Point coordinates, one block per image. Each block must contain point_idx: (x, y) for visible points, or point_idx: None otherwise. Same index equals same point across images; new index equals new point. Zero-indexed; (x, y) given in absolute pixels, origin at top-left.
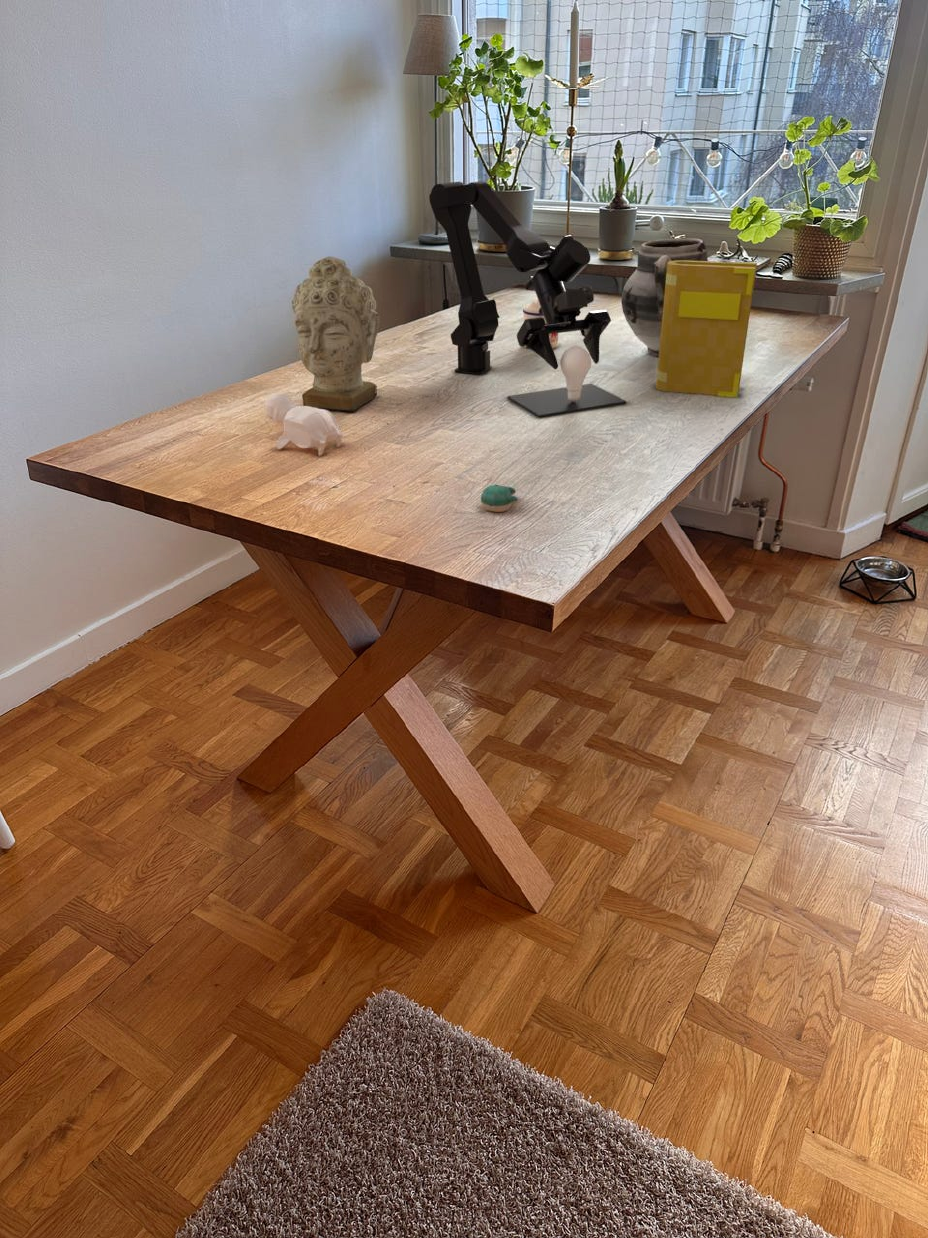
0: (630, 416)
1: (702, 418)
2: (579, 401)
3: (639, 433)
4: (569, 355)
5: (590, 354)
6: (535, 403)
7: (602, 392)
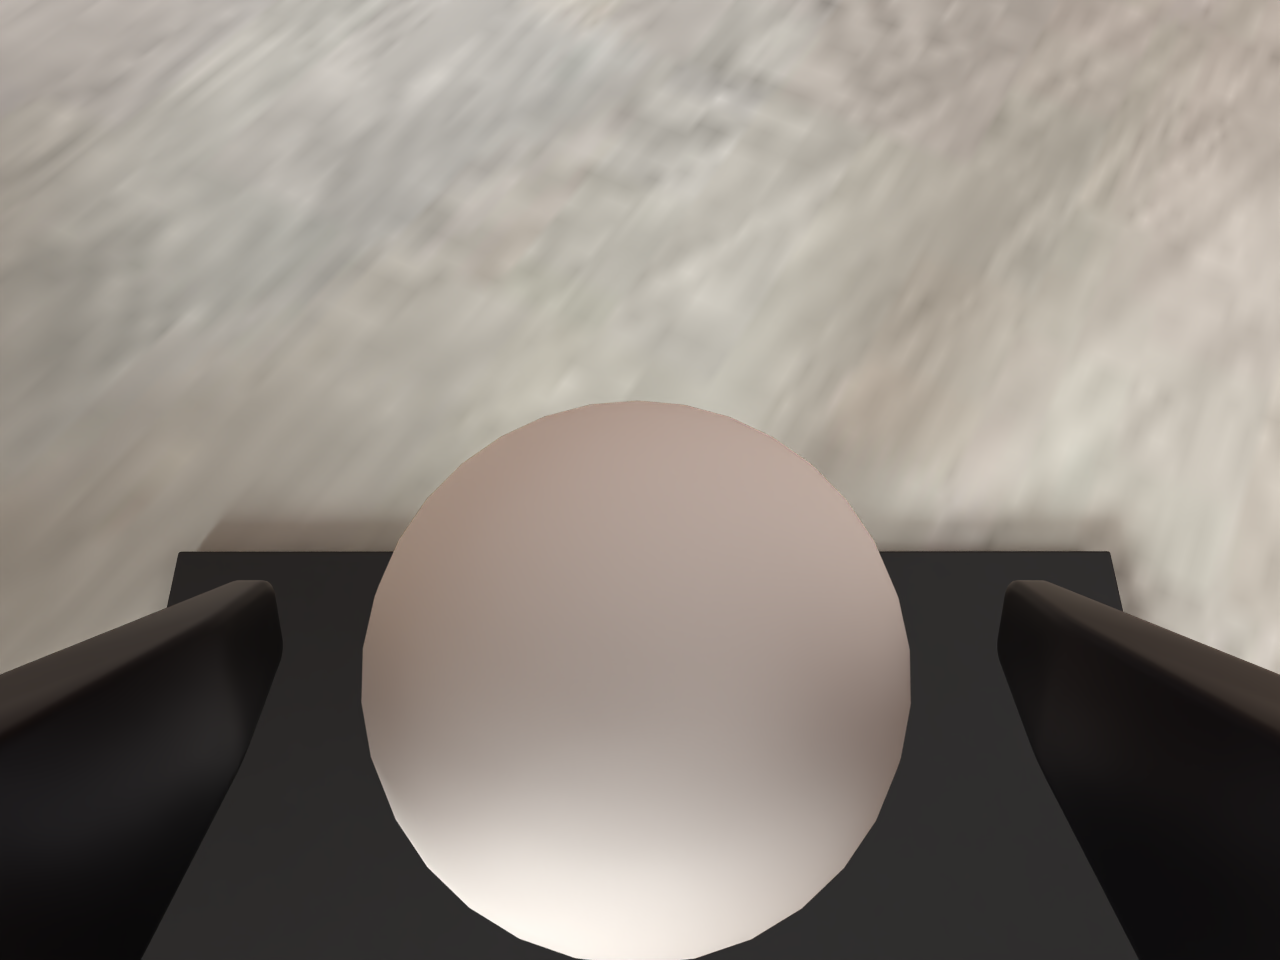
0: (391, 286)
1: (6, 75)
2: None
3: (559, 27)
4: (842, 520)
5: (188, 849)
6: (1034, 906)
7: (163, 931)
